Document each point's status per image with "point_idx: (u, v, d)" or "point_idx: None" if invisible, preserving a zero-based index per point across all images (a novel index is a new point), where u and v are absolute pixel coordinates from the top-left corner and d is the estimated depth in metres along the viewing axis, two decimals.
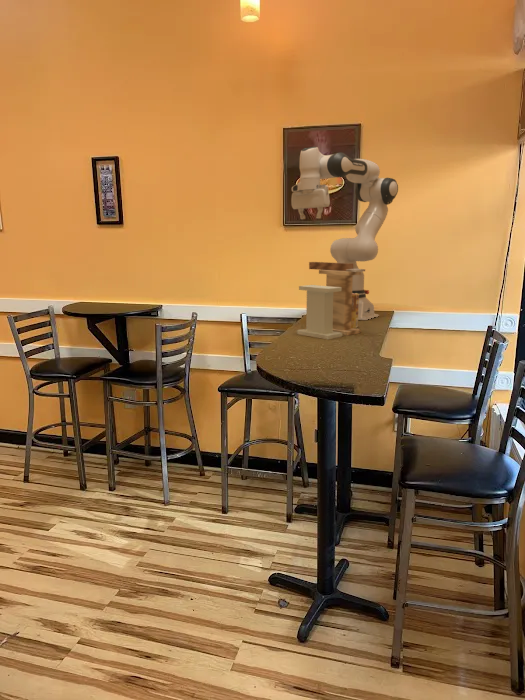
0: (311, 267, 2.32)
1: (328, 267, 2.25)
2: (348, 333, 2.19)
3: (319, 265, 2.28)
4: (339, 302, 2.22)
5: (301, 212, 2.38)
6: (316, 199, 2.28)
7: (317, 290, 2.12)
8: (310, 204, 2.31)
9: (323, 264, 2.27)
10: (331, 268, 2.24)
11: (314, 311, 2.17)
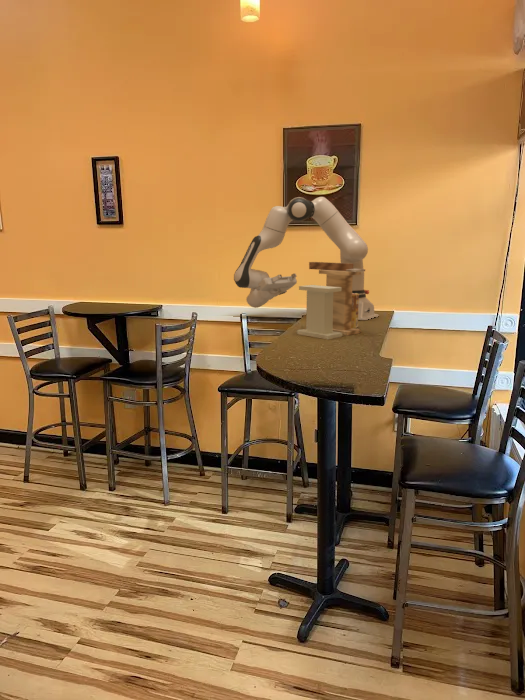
0: (311, 267, 2.32)
1: (328, 267, 2.25)
2: (348, 333, 2.19)
3: (319, 265, 2.28)
4: (339, 302, 2.22)
5: (292, 277, 2.51)
6: (271, 287, 2.47)
7: (317, 290, 2.12)
8: (278, 284, 2.48)
9: (323, 264, 2.27)
10: (331, 268, 2.24)
11: (314, 311, 2.17)
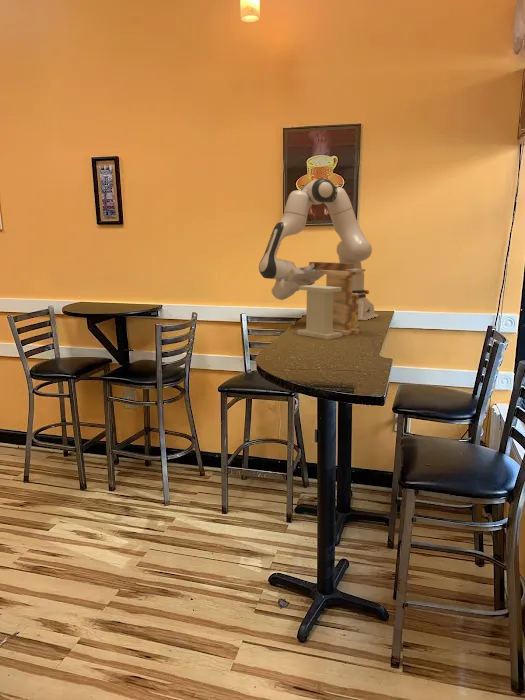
0: None
1: (328, 267, 2.25)
2: (348, 333, 2.19)
3: (319, 265, 2.28)
4: (339, 302, 2.22)
5: None
6: (299, 277, 2.33)
7: (317, 290, 2.12)
8: (307, 274, 2.34)
9: (323, 264, 2.27)
10: (331, 268, 2.24)
11: (314, 311, 2.17)
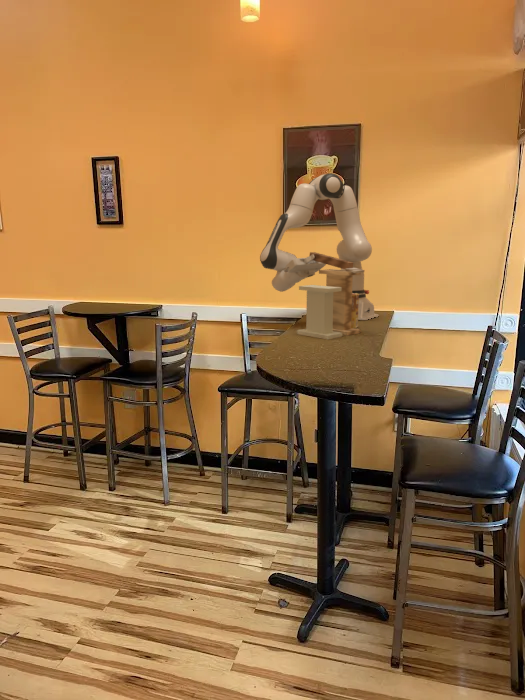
0: None
1: (328, 261, 2.24)
2: (348, 333, 2.19)
3: (319, 258, 2.28)
4: (339, 302, 2.22)
5: None
6: (299, 268, 2.32)
7: (317, 290, 2.12)
8: (308, 266, 2.33)
9: (323, 257, 2.26)
10: (331, 263, 2.23)
11: (314, 311, 2.17)
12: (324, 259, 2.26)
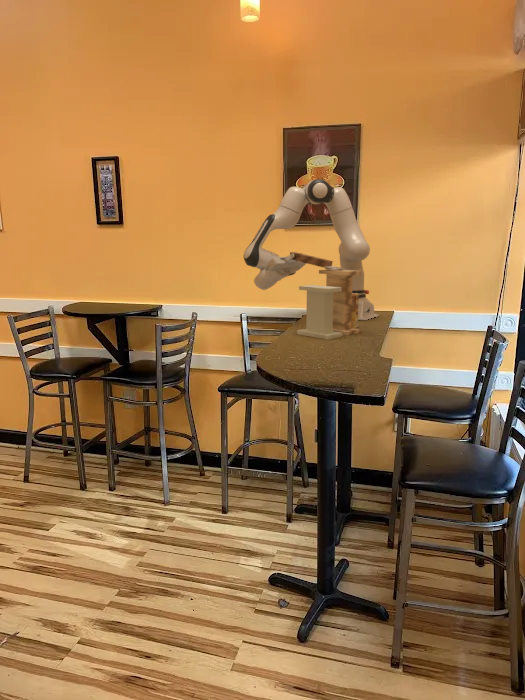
0: None
1: (308, 260, 2.30)
2: (348, 333, 2.19)
3: (300, 257, 2.33)
4: (339, 302, 2.22)
5: None
6: (280, 266, 2.38)
7: (317, 290, 2.12)
8: (288, 264, 2.39)
9: (303, 257, 2.32)
10: (311, 262, 2.29)
11: (314, 311, 2.17)
12: (304, 258, 2.32)
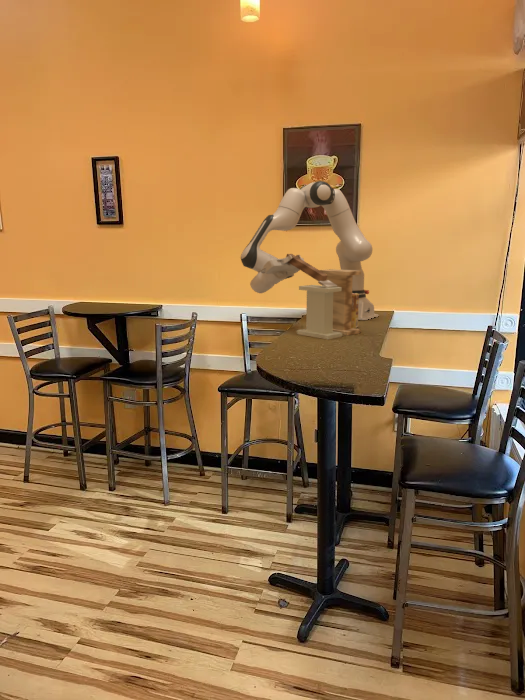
0: None
1: (303, 268, 2.19)
2: (348, 333, 2.19)
3: (295, 262, 2.22)
4: (339, 302, 2.22)
5: None
6: (277, 269, 2.25)
7: (317, 290, 2.12)
8: (285, 267, 2.26)
9: (299, 263, 2.20)
10: (305, 271, 2.18)
11: (314, 311, 2.17)
12: (299, 265, 2.20)
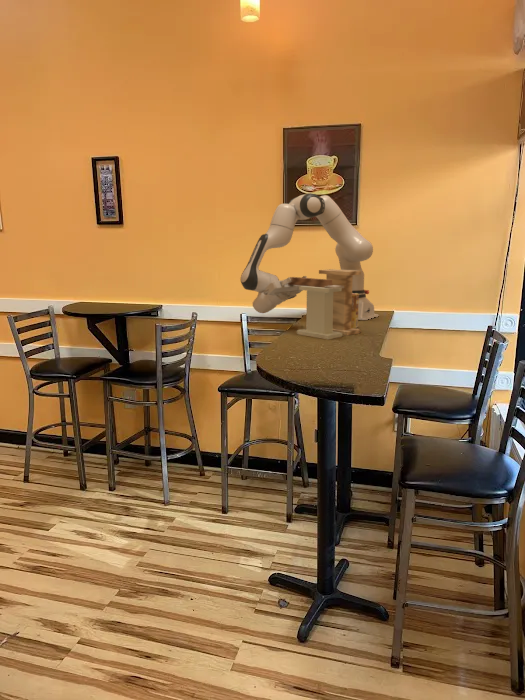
0: (290, 282, 2.26)
1: (307, 283, 2.19)
2: (348, 333, 2.19)
3: (298, 281, 2.22)
4: (339, 302, 2.22)
5: None
6: (279, 290, 2.26)
7: (317, 290, 2.12)
8: (288, 288, 2.27)
9: (302, 280, 2.21)
10: (310, 284, 2.18)
11: (314, 311, 2.17)
12: (303, 281, 2.20)
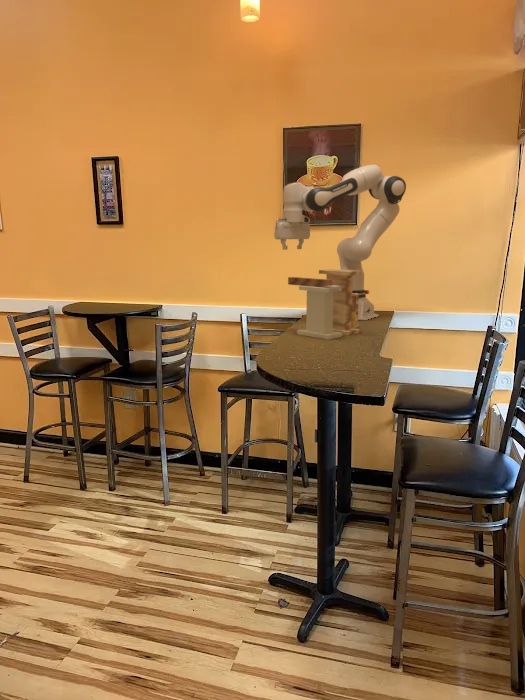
0: (290, 282, 2.26)
1: (307, 283, 2.19)
2: (348, 333, 2.19)
3: (298, 281, 2.22)
4: (339, 302, 2.22)
5: (300, 242, 2.50)
6: None
7: (317, 290, 2.12)
8: None
9: (302, 280, 2.21)
10: (310, 284, 2.18)
11: (314, 311, 2.17)
12: (303, 281, 2.20)
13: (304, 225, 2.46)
